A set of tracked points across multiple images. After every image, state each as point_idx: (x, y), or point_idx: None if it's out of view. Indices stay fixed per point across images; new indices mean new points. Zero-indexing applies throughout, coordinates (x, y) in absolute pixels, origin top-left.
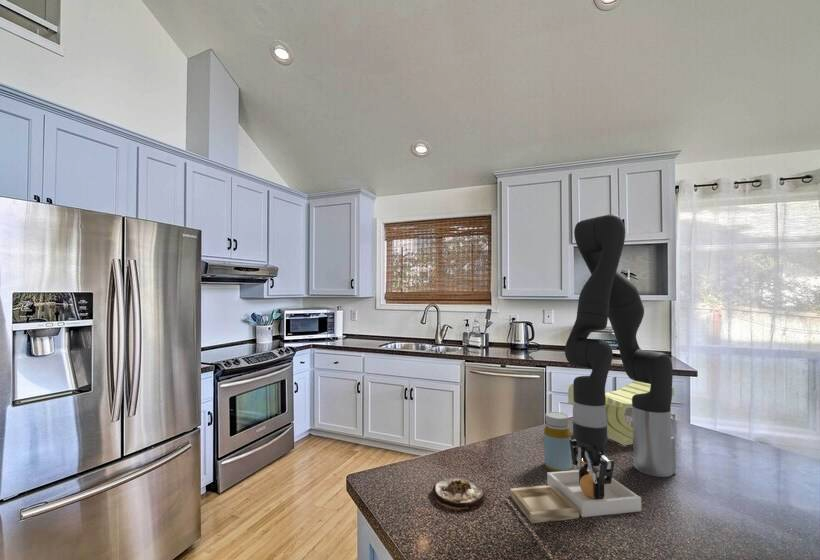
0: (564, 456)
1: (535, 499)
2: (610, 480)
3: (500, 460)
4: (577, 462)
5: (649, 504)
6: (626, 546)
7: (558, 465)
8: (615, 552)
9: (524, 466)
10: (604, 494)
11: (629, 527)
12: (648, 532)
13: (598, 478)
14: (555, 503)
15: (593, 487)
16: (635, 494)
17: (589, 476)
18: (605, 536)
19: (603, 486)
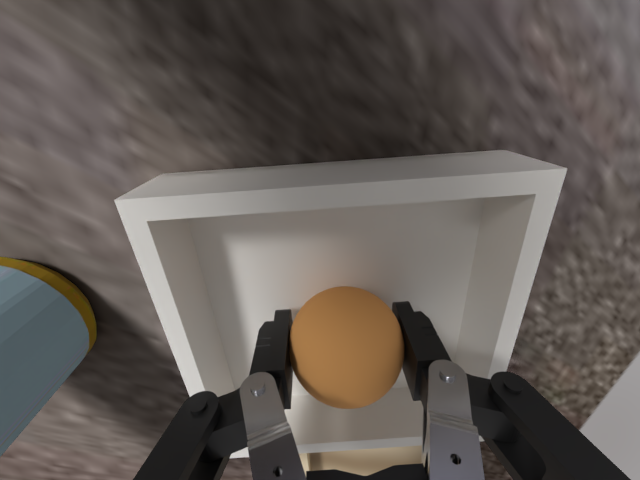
0: (17, 384)
1: (339, 466)
2: (542, 404)
3: (20, 466)
4: (230, 450)
5: (445, 18)
6: (619, 336)
7: (72, 362)
8: (618, 373)
9: (53, 416)
10: (330, 242)
11: (554, 269)
12: (614, 220)
13: (489, 447)
14: None
15: (404, 373)
16: (520, 177)
17: (360, 403)
18: (552, 363)
19: (449, 360)
